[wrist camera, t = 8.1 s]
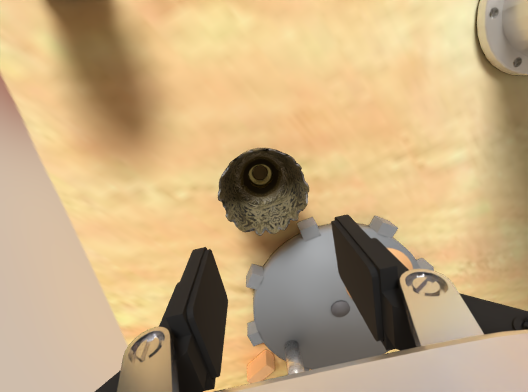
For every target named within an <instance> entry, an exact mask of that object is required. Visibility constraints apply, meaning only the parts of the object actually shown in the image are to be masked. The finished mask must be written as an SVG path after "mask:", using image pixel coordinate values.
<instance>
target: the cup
mask: <svg viewBox="0 0 528 392" xmlns="http://www.w3.org/2000/svg"><path fill="white" fill-rule="evenodd" d="M256 166H264V167H265V168H266V170H267V176H266V177H265V178H264V179H262V180H257V179H255V178H254V176H253V169H254V168H255V167H256ZM301 169H302V168H301V166H300V165H299V164H298V163H296V161H295V160H294V158H292V157H291V156H290V155H288V154H285V153H282V152H280V151H278V150H275V149H270V148H255V149H251V150H249V151H246V152H244V153H242V154H241V155H240V156H238V157H237V158H235V159H234V160H232V161H231V162H230V163H229V166H228V167H227V168H226V170H225V171H224V172H223V174H222V176H221V178H220V181H219V192H218V200H219V201H221V202H222V203H223V207H224V208H225V210H226V217H227V219H228V220H229V221H230V222H232V221H233V222H234V224H235V225H236V227H237V228H238V229H240V230H241V231H242V232H250V231H255V232H256V234H257V235H259V236H261V235H262V234H263V233H264V231H265V230H267V231H268V232H269V233H270V234H276V233H277V232H279V229H280V230H281V229H282V230H285V229H286V228H287V226H288V224H289V223H290V220H293V221H297V220H298V214H299V212H300V211H303V210H304V209H305V207H306V206H307V203H308V193H307V192H309V186H308V184H307V183H306V181H305V180H304V175H303V173H302V171H301Z"/></svg>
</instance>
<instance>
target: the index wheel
mask: <svg viewBox="0 0 528 392" xmlns="http://www.w3.org/2000/svg"><path fill="white" fill-rule="evenodd" d="M357 224H358V223H357ZM297 225H298V228H299V230H300V234H298V235H296V236H295V237H293V238H291V239H290V240H288V241H287V242H286V243H284V244H283V245H282V246H280V247H279V248H278V249H277V250H276V251H275V252H274V253H273V254H272V255H271V256H270V258H269V259H268V260H267V262H266V263H265V264H264V266H263V267H261V266H258V265H255V264H252V265H251V267H250V269H249V271H248V274H247V276H246V287H249V288H252V289H254V297H253V309H254V321H252V322H250V323H248V334H247V336H248V337H249V339H250V341H251V343H252V344H253V346H255V345H258V344H261V343H265V345H266V346H267V347H268V348H269V349H270V350H271V351H272V352H273V353H274V354H275V355H277V356H278V357H280V358H281V359H283V360H285V361H286V363H287V370H288V375H290V374H295V373H300V372H304V371H309V370H310V369H312V370H313V369H318V368H322V367H327V366H331V365H336V364H341V363H345V362H350V361H355V360H359V359H364V358H369V357H373V356H378V355H383V354H384V353H386V352H388V351H389V350H388V351H386V349H385V347H384V345H383V344H382V342H381V341H376V340H375V339H374V337H373V335H372V334H371V332H370V330H369V328H368V326H367V325H366V323H365V321H364V319H363V317H362V316H361V314H360V312H359V310H358V308H357V307H356V305H355V303H354V301H353V299H352V298H351V296H350V294H349V292H348V290H347V289H346V287H345V285H344V283H343V281H342V280H341V278H340V275H339V272H338V266H337V259H336V253H335V246H334V239H333V232H332V225H331V224H327V225H322V226H317V224H316V222H315V220H314V219H313V217H311V218H308V219H306V220H303V221H301V222H298V223H297ZM358 225H359V226H360V227H361V229H362V230H363V231H364V232H365V233H366V234H367V235H368V236H369V237H370V238H377V239H378V240H379V241H380V242H381V243H382V244H383V245H384V246H385V247H386V248H387V249H388V250H389V251H390V252H391V253H392V254H393V255H394V256H395V257H396V258H397V259H398V260H399V261H400V262H401V263H402V264H404V265H405V266H406V267H407V268H408V269H409V270H412V269H428V270H432V271H434V269H433V266H431V265H430V264H429V263H428V262H427V261H425V260H424V259H423V258H420V259H418V260H416V259H415V258H414V257H413V255H412V254H411V253H410V252H409V251H408V250H407V249H406V248H405V247H404V246H403V245H401V244H400V243H399V242H398V241H397V240H396V239H394V238H393V235H394V234H395V232H396V231H397V229H398V228H397V227H396V226H395V225H393V224H392V223H391V222H390V221H388V220H385V219H383V218H380V217H378V216H374V218H373V219H372V221H371V223H370V225H369V226H368V225H364V224H358Z"/></svg>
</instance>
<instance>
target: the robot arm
mask: <svg viewBox="0 0 528 392" xmlns="http://www.w3.org/2000/svg"><path fill="white" fill-rule="evenodd" d="M477 29H478V38H479V41H480V45H481V48H482V50H483V52H484V54H485V56H486V58H487V59H488V60H489V61H490V62H491V63H492V65H493V66H495V67H496V68H498V69H499V70H501V71H503V72H505V73H508V74H511V75H528V0H480V3H479V7H478V16H477ZM331 225H332V232H333V239H334V246H335V253H336V259H337V266H338V272H339V275H340V278H341V280H342V281H343V283H344V285H345V287H346V289H347V290H348V292H349V294H350V296H351V298H352V299H353V301H354V303H355V305H356V307H357V308H358V310H359V312H360V314H361V316H362V317H363V319H364V321H365V323H366V325H367V326H368V328H369V330H370V332H371V334H372V335H373V337H374V339H375V340H376V341H381V342H382V344H383V345H384V347H385V349H386V351H388V350H392V349H398V350H400V351H397V352H392V353H387V354H383V355H378V356H373V357H369V358H364V359H359V360H355V361H350V362H345V363H341V364H336V365H331V366H327V367H322V368H318V369H313V370H309V371H304V372H300V373H295V374H290V375H286V376H281V377H277V378H272V379H268V380H263V381H259V382H254V383H250V384H245V385H241V386H237V387H232V388H228V389H223V390H219V391H214V392H528V311H524V310H521V309H517V308H513V307H509V306H505V305H502V304H498V303H494V302H490V301H486V300H483V299H479V298H475V297H471V296H467V295H464V294H460V293H459V292H458V291H457V289H456V287H455V286H454V284H453V283H452V282H451V280H450V279H449V278H447V277H446V276H444V275H443V274H441V273H438V272H436V271H432V270H428V269H412V270H409V269H408V268H407V267H406V266H405V265H404V264H402V263H401V262H400V261H399V260H398V259H397V258H396V257H395V256H394V255H393V254H392V253H391V252H390V251H389V250H388V249H387V248H386V247H385V246H384V245H383V244H382V243H381V242H380V241H379V240H378V239H377V238H370V237H369V236H368V235H367V234H366V233H365V232H364V231H363V230H362V229H361V227H360V226H359V225H358V224H357V223H356V222H355V221H354V220H353V219H352V218H351V217H350V216H349V215H343V216H339V217H335V221H332V222H331ZM227 307H228V299H227V295H226V292H225V289H224V286H223V283H222V280H221V277H220V274H219V271H218V268H217V265H216V262H215V259H214V256H213V253H212V251H211V249H209V250H207V248H206V247H204V248H199V249H195V250H193V251H192V253H191V256H190V258H189V261H188V263H187V266H186V268H185V271H184V273H183V276H182V278H181V281H180V282H179V283H177V285H176V287H175V290H174V292H173V294H172V297H171V299H170V301H169V304H168V306H167V309H166V311H165V313H164V316H163V318H162V321H161V323H160V325H159V327H154V328H152V329H149V330H147V331H145V332H143V333H141V334H140V335H139V336H138V337H136V338H135V339H134V340H133V341H132V342H131V343H130V344H129V346H128V347H127V349H126V351H125V353H124V356H123V360H122V366H121V370H120V371H119V372H118V373H117V374H116V375H114V376H113V377H112V378H111V379H109V380H108V381H107V382H106V383H105V384H104V385H102V386H101V387H100V388H99V389H98V390H96V391H95V392H203V391H206V390H211V389H214V387H215V378H216V377H219V376H220V372H221V363H222V353H223V344H224V335H225V325H226V316H227Z"/></svg>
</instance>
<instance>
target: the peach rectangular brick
mask: <svg viewBox="0 0 528 392" xmlns="http://www.w3.org/2000/svg"><path fill="white" fill-rule="evenodd" d="M273 371H275V365H274V355H273V354H272V353H271V352H269V351H268V350H266V349H265V350H264V351H263V352H261V353H260V354H259V355H258V356H257V357H256V358H255V359H253V360H252V361H251V362H250V363H249V364H248V365H247V382H249V383H254V382H259V381H263V380H264V379H265V378H266V377H267V376H269V375H270V374H271V373H272V372H273Z"/></svg>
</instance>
